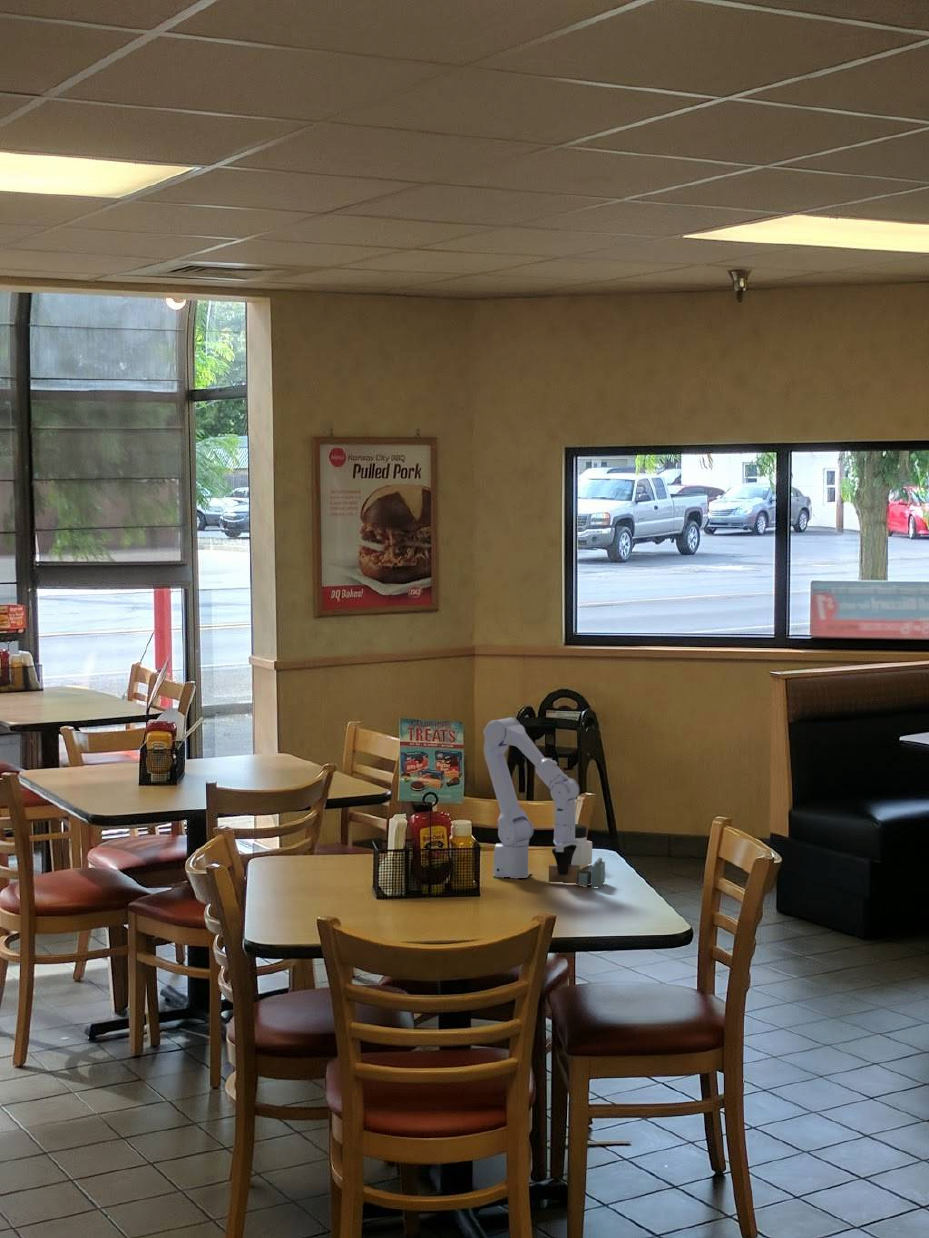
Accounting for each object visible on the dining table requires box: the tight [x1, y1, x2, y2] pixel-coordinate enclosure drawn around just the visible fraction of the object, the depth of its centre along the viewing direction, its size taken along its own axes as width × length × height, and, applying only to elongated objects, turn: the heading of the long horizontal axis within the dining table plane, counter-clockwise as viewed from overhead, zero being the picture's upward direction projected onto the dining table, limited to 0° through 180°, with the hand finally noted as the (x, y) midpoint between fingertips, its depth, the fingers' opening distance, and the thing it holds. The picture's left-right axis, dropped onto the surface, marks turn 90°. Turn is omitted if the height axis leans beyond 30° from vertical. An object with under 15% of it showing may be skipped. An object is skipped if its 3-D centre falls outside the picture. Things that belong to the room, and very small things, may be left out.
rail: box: [548, 862, 592, 884], centre depth 398 cm, size 12×3×5 cm, turn 75°
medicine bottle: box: [571, 823, 593, 867], centre depth 420 cm, size 7×7×12 cm
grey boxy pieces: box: [578, 857, 606, 889], centre depth 396 cm, size 6×7×7 cm
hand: (564, 873), depth 398 cm, fingers closed on rail, 3 cm apart
